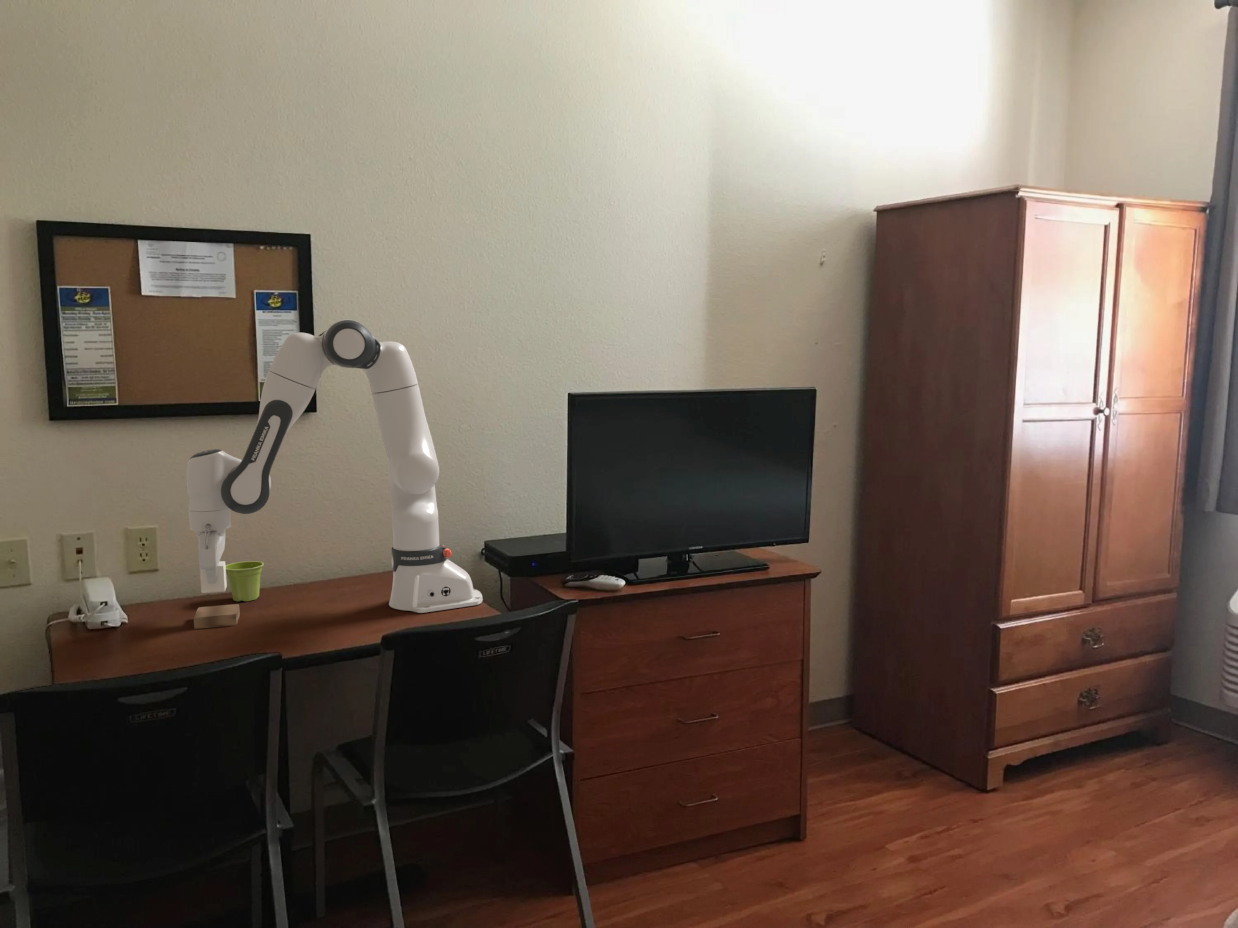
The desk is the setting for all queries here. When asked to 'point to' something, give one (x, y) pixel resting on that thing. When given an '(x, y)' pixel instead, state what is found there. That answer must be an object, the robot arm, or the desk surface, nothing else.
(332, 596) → the desk surface
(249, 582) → the plant pot
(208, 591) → the white block
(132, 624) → the desk surface
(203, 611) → the walnut slab
